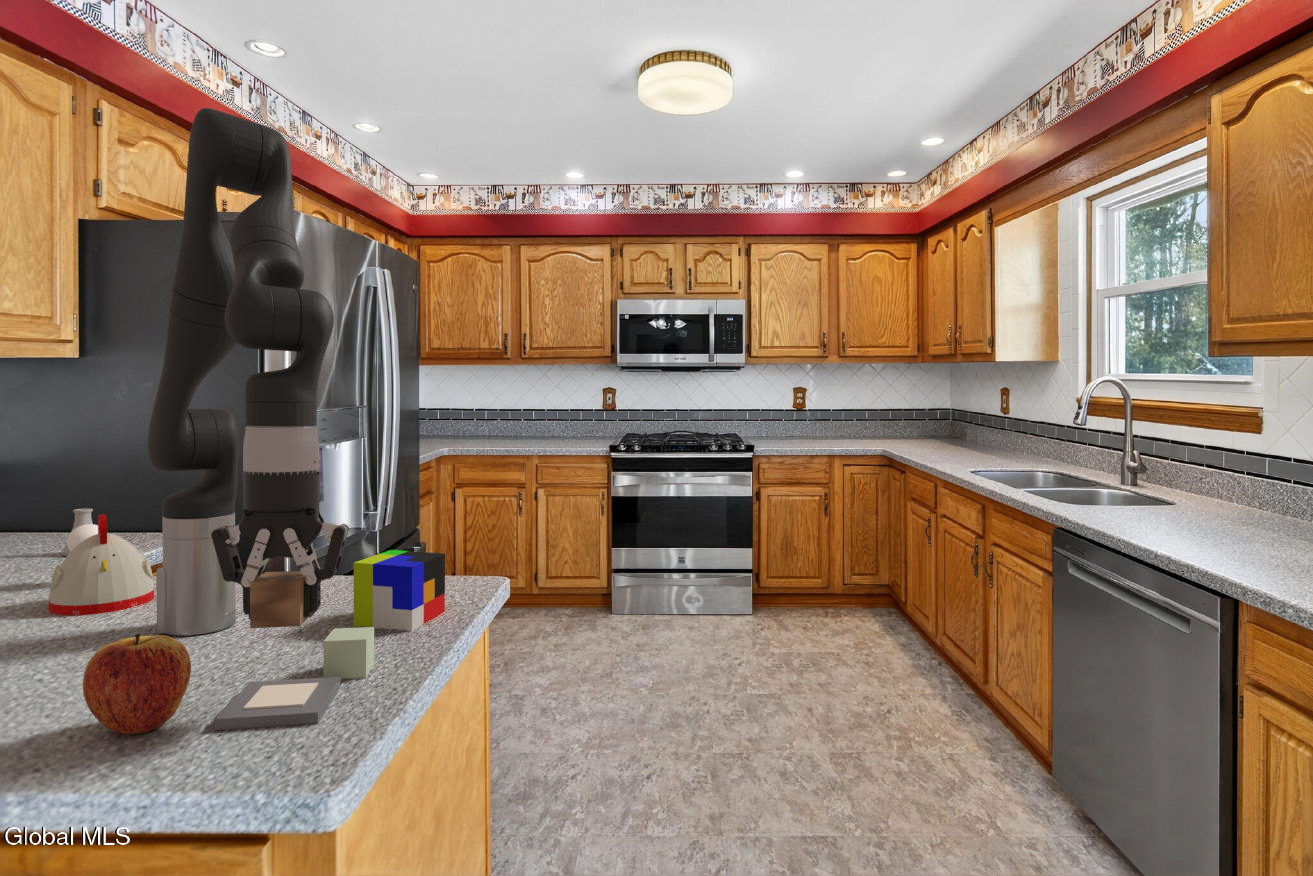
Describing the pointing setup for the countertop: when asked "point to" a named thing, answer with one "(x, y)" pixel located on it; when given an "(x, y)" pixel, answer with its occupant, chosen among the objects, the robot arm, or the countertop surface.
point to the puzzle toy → (399, 589)
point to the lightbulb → (81, 535)
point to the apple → (137, 682)
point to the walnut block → (277, 600)
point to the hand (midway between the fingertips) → (282, 616)
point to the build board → (279, 703)
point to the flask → (79, 523)
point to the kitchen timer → (101, 577)
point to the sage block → (349, 652)
